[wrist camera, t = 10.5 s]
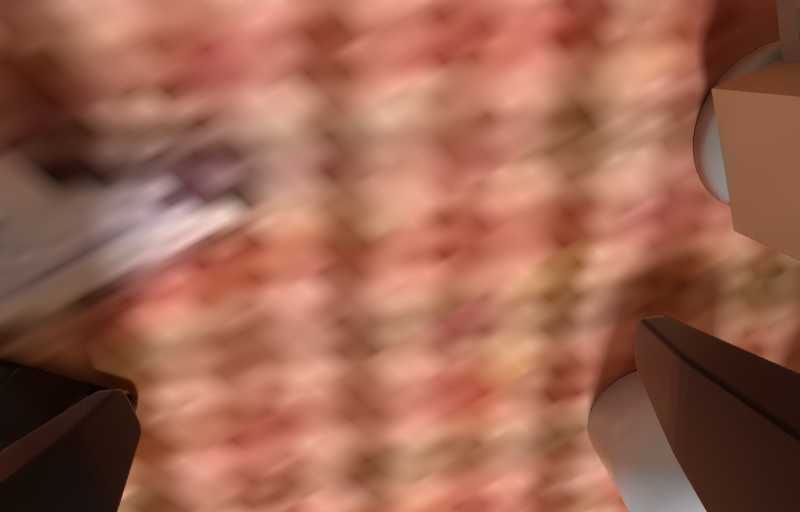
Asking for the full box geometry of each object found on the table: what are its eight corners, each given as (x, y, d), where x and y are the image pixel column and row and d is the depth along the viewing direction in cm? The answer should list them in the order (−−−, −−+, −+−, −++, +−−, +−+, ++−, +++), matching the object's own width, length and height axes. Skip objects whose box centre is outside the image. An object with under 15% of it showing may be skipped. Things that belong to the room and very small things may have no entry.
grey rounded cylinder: (685, 470, 27) (766, 578, 22) (574, 462, 27) (627, 570, 21) (725, 372, 25) (825, 462, 20) (605, 361, 25) (674, 451, 19)
